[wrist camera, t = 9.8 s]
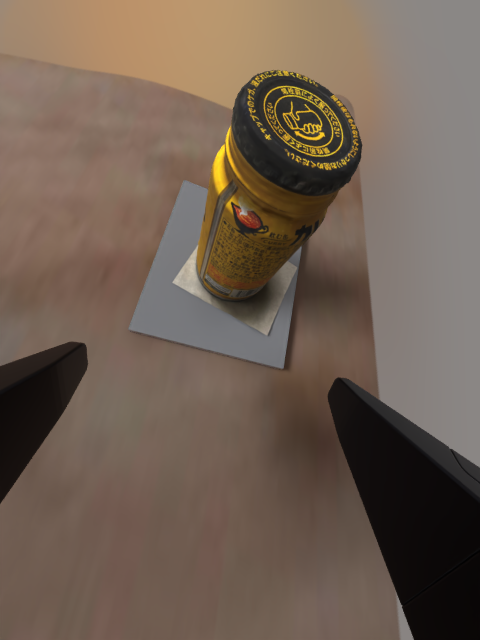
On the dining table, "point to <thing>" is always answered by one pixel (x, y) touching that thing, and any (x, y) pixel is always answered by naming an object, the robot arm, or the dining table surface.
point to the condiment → (269, 193)
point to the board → (192, 312)
